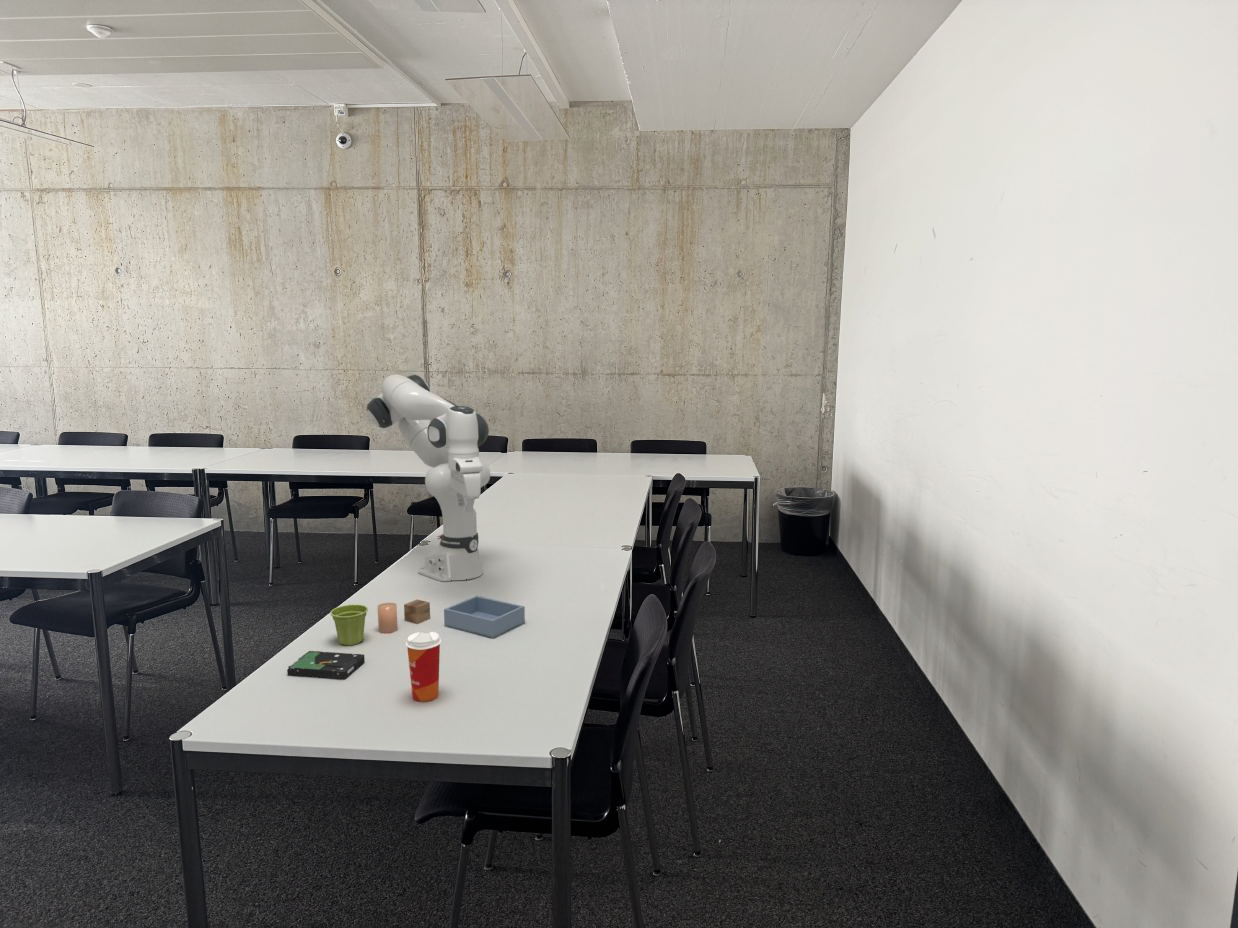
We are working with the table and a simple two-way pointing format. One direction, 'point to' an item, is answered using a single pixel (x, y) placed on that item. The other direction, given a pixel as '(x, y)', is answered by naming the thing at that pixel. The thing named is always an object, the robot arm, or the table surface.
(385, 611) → the terracotta cylinder
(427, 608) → the walnut cube
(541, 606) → the table surface
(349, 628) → the plant pot
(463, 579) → the robot arm
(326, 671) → the disk drive
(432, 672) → the paper cup
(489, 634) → the tote
